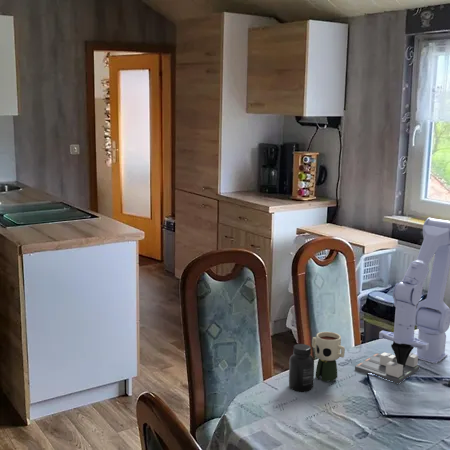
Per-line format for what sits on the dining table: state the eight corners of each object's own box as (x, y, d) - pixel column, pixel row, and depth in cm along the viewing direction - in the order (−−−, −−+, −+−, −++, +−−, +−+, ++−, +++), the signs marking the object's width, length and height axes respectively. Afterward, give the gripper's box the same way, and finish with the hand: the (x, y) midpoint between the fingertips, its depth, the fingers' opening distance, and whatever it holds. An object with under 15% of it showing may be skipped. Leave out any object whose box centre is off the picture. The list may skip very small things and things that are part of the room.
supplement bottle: (312, 383, 175) (314, 343, 172) (313, 393, 168) (315, 352, 166) (288, 381, 175) (290, 341, 173) (288, 392, 169) (290, 351, 166)
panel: (377, 356, 194) (377, 352, 194) (419, 369, 185) (419, 365, 185) (354, 369, 184) (355, 365, 184) (398, 384, 175) (398, 380, 175)
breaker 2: (404, 360, 187) (405, 351, 187) (417, 364, 185) (418, 354, 184) (401, 363, 185) (401, 353, 185) (413, 367, 183) (414, 357, 182)
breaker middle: (383, 361, 186) (384, 351, 186) (395, 365, 184) (396, 355, 183) (379, 364, 185) (380, 354, 184) (391, 368, 182) (392, 357, 181)
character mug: (303, 376, 179) (305, 333, 176) (317, 369, 184) (320, 327, 182) (335, 388, 172) (337, 344, 169) (349, 380, 177) (351, 337, 174)
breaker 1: (389, 370, 180) (390, 360, 179) (402, 375, 177) (403, 364, 177) (385, 373, 178) (386, 363, 177) (398, 377, 175) (399, 367, 175)
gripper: (375, 320, 180) (372, 363, 183) (422, 333, 171) (418, 378, 174) (386, 314, 186) (383, 357, 188) (433, 326, 176) (429, 371, 179)
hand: (401, 367), depth 181 cm, fingers closed
